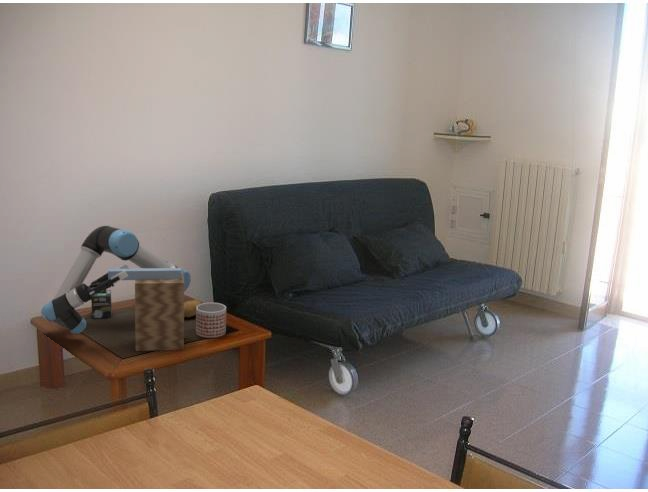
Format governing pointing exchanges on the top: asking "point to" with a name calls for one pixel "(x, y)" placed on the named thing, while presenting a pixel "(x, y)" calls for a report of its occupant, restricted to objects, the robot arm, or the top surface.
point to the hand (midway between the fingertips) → (127, 269)
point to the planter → (211, 320)
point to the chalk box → (102, 304)
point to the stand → (159, 314)
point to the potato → (190, 308)
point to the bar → (148, 273)
